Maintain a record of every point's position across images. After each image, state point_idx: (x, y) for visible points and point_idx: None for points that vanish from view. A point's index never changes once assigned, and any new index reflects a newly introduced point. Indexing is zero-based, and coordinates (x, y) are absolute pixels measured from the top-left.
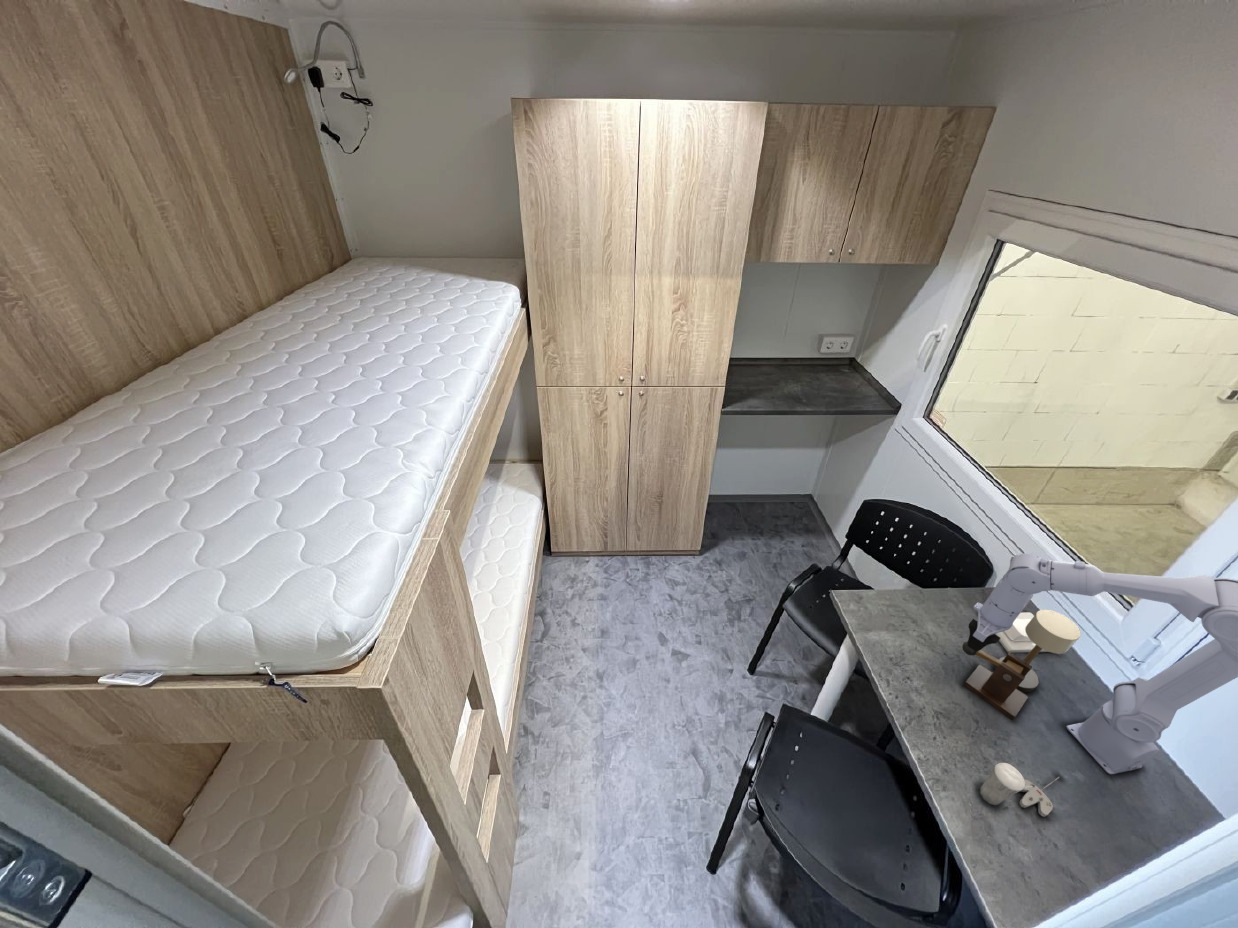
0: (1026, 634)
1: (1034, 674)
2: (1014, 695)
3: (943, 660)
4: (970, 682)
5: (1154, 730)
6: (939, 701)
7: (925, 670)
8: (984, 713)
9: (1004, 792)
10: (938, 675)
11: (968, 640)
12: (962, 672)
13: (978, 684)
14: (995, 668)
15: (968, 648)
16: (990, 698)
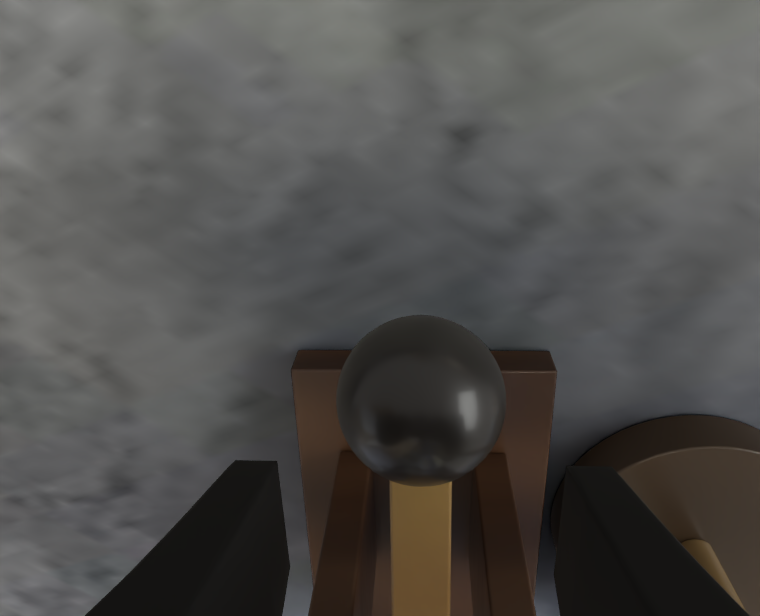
0: None
1: (755, 613)
2: (469, 578)
3: (383, 161)
4: (317, 391)
5: None
6: (16, 306)
7: (146, 115)
8: None
9: None
10: (203, 205)
11: (173, 528)
12: (399, 304)
13: None
14: (629, 437)
15: (347, 412)
16: (313, 505)
